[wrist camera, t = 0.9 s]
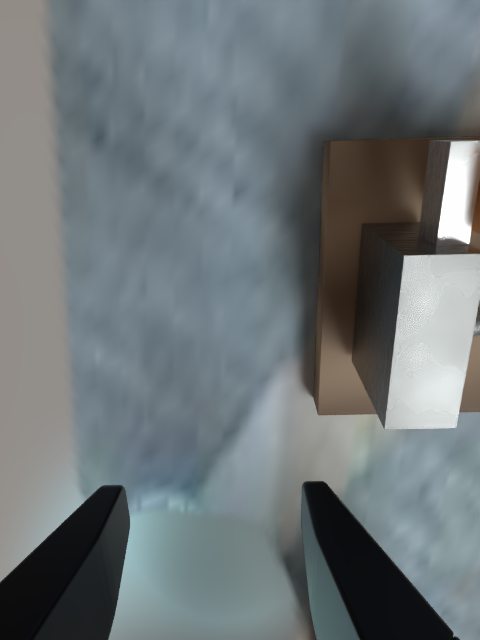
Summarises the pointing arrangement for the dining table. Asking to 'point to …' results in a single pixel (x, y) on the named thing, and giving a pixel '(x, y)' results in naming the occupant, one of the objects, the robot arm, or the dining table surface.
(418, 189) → the gauge base
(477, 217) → the peak pointer
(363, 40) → the dining table surface
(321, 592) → the robot arm
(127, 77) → the dining table surface
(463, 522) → the dining table surface
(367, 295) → the grey block with rod
